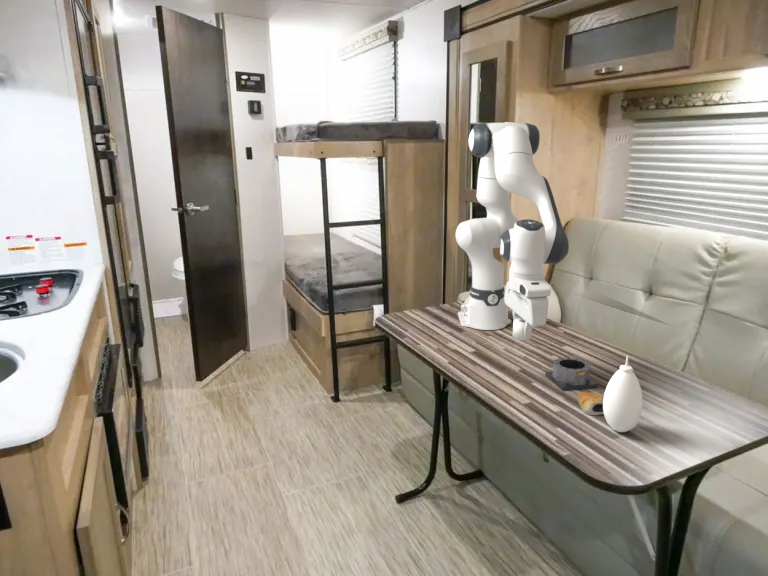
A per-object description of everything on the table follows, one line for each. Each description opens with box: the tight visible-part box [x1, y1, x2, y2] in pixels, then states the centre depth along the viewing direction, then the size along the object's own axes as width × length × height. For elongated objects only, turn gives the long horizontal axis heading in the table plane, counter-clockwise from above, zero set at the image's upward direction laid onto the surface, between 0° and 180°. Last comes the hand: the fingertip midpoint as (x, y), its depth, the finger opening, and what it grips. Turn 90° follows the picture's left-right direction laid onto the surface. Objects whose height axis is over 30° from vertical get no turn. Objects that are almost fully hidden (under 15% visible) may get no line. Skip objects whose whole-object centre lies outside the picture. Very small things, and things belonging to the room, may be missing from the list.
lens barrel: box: [545, 356, 599, 391], centre depth 141 cm, size 10×10×5 cm
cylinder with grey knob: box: [512, 318, 533, 341], centre depth 142 cm, size 5×5×5 cm
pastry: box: [577, 390, 604, 416], centre depth 127 cm, size 9×7×4 cm
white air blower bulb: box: [603, 355, 644, 433], centre depth 114 cm, size 8×8×18 cm
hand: (522, 330), depth 142 cm, fingers closed on cylinder with grey knob, 5 cm apart
